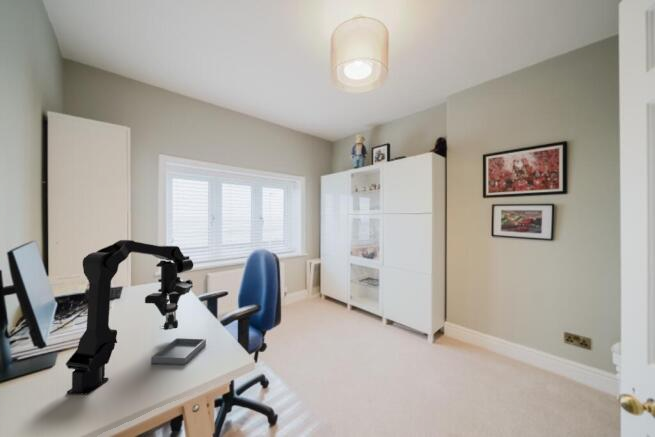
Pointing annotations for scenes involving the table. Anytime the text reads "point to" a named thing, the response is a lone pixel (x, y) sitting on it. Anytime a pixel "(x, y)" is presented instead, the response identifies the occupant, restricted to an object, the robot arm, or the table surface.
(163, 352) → the tray
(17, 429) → the table surface
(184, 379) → the table surface
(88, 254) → the robot arm
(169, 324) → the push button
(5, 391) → the table surface
